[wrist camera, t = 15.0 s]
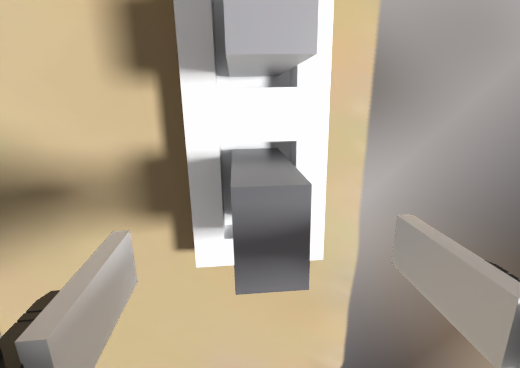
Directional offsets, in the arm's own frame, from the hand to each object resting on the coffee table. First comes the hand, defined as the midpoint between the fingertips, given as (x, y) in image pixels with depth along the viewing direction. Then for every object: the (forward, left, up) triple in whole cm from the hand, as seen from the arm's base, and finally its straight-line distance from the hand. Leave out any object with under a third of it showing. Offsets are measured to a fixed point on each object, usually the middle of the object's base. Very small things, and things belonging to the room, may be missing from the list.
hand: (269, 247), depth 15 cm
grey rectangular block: (0, 0, -13) cm, 13 cm away
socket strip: (-5, +4, -13) cm, 14 cm away
